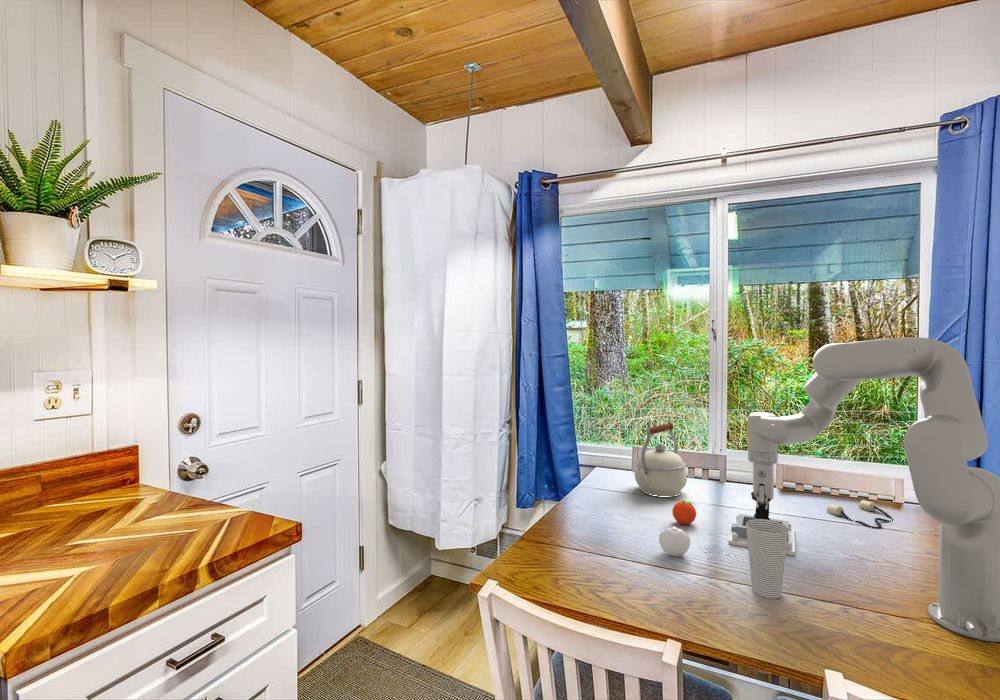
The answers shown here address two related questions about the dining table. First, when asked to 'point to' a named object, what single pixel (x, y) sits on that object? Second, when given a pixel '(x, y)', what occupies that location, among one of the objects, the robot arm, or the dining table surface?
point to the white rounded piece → (674, 541)
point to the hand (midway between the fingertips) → (762, 518)
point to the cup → (766, 556)
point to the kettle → (660, 467)
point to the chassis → (740, 533)
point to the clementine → (684, 512)
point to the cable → (863, 505)
